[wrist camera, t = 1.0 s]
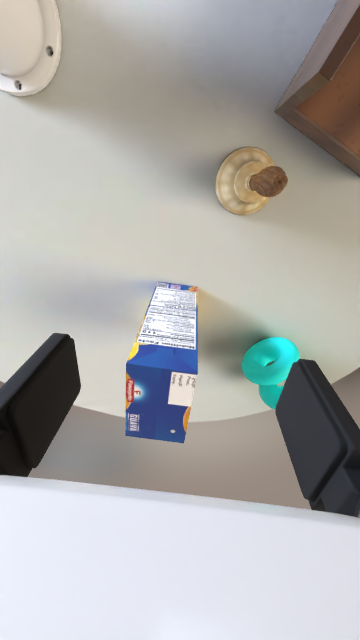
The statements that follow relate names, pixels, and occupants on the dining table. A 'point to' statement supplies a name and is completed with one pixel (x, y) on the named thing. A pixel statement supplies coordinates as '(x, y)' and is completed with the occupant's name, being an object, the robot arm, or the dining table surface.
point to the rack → (330, 87)
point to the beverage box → (163, 366)
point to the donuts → (270, 366)
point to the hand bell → (248, 181)
